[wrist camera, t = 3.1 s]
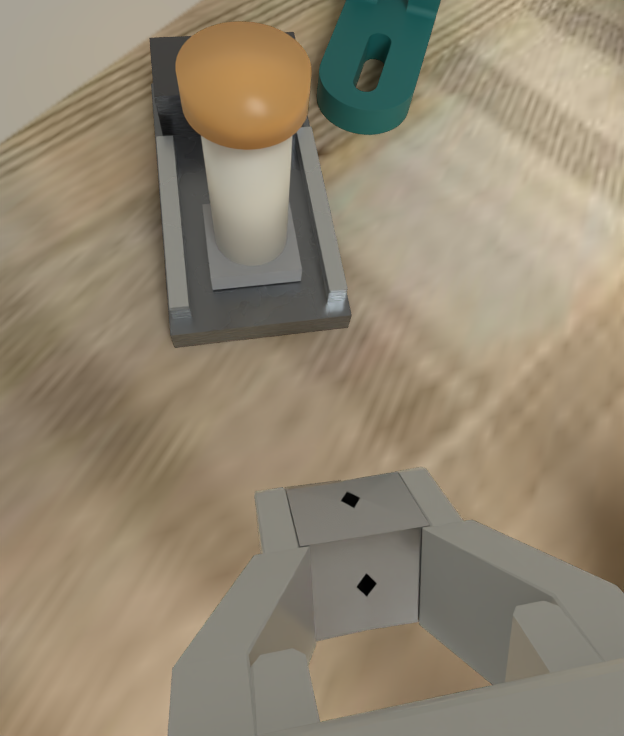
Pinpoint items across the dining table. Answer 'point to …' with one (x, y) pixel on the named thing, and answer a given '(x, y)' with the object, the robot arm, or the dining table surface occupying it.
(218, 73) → the knob
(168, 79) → the mount
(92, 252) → the dining table surface
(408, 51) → the bracket
